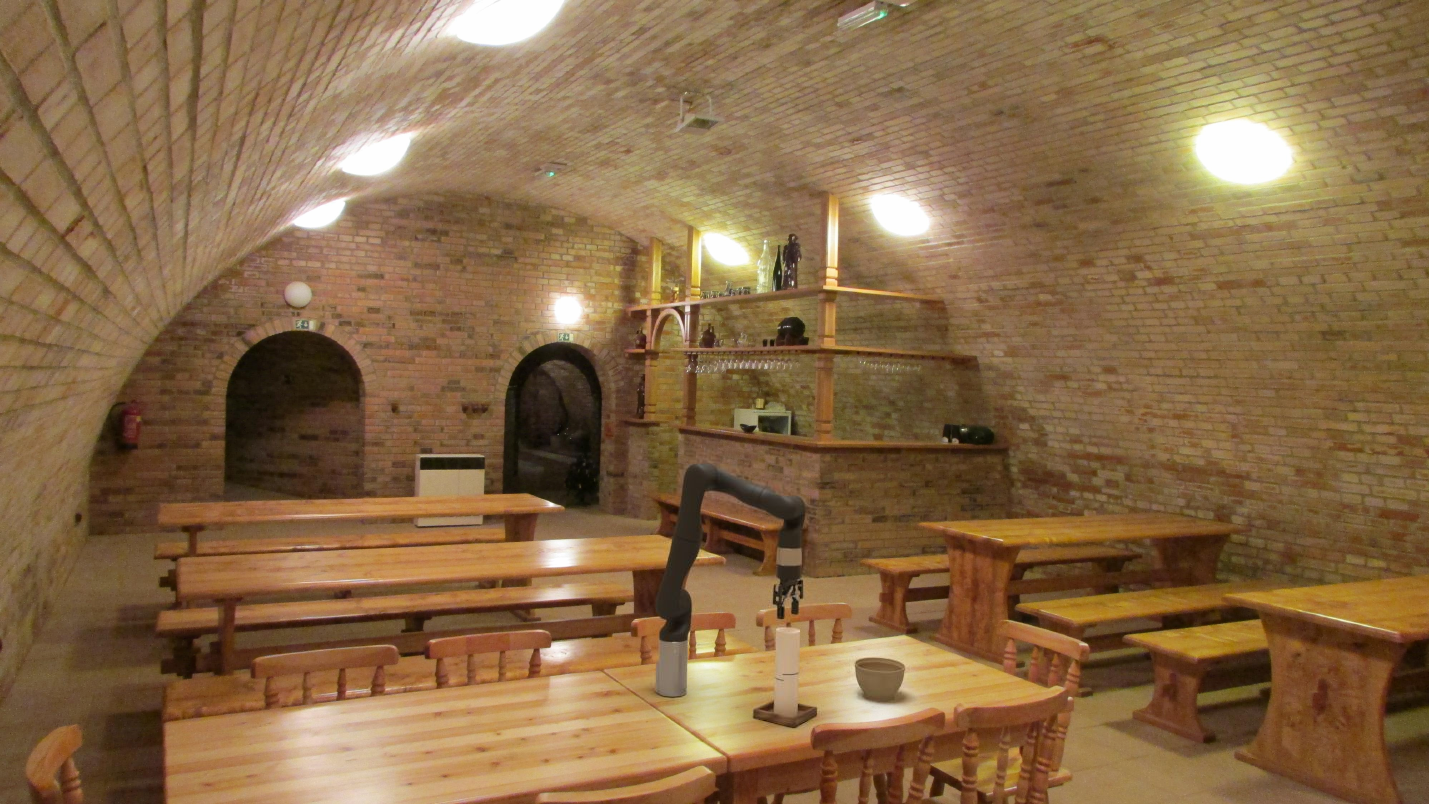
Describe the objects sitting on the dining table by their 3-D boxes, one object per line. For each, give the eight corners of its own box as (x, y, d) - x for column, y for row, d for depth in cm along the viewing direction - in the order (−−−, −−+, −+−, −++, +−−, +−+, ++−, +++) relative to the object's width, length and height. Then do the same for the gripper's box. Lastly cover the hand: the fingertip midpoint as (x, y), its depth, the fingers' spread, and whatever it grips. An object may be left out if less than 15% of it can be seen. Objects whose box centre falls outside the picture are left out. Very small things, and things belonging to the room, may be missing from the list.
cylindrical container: (796, 718, 287) (798, 634, 286) (772, 715, 288) (774, 632, 287) (798, 710, 294) (800, 628, 293) (774, 708, 295) (777, 626, 294)
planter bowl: (848, 701, 308) (849, 667, 307) (860, 687, 322) (861, 654, 322) (898, 708, 301) (899, 673, 301) (908, 694, 316) (909, 661, 316)
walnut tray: (753, 717, 288) (753, 709, 288) (776, 706, 300) (777, 698, 300) (794, 727, 280) (794, 718, 280) (817, 715, 292) (817, 707, 292)
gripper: (790, 558, 299) (788, 611, 298) (766, 563, 287) (764, 618, 287) (811, 561, 294) (810, 614, 294) (788, 566, 283) (786, 622, 282)
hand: (787, 616), depth 290 cm, fingers open, 8 cm apart
